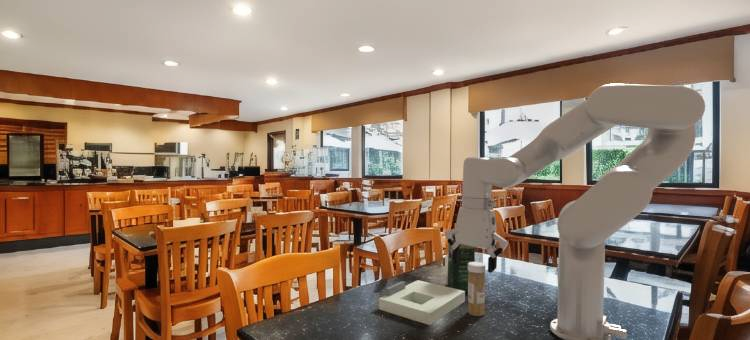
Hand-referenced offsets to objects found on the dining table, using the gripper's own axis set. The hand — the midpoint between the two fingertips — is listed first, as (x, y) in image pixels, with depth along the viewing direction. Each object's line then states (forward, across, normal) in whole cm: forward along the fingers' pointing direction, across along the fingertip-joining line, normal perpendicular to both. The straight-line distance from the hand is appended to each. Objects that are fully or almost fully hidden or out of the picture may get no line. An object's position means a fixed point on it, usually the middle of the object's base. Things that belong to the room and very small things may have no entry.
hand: (473, 267), depth 101 cm
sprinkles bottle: (+12, -1, 0) cm, 12 cm away
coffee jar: (+13, +11, -16) cm, 23 cm away
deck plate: (+13, +13, +4) cm, 18 cm away
